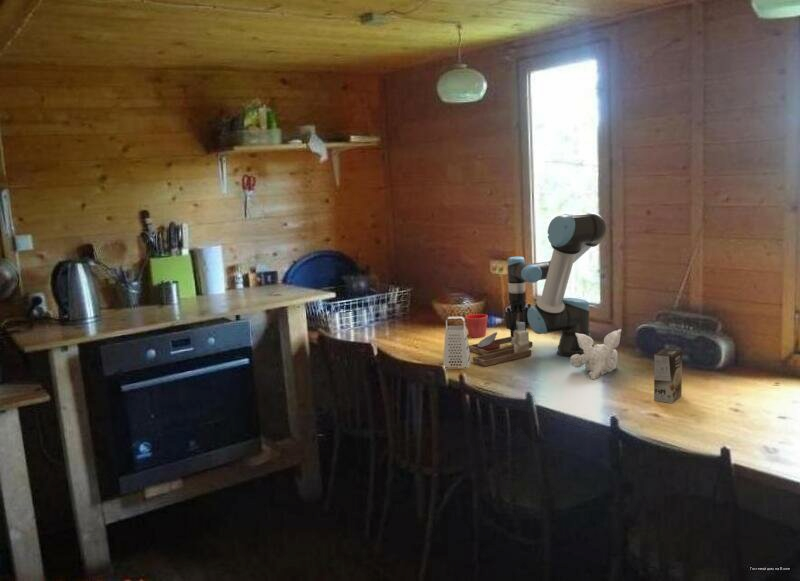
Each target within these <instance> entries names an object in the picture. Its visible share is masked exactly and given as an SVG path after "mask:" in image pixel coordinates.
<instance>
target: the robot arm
mask: <svg viewBox="0 0 800 581" xmlns="http://www.w3.org/2000/svg"><path fill="white" fill-rule="evenodd" d="M547 228H548V229H547V234H548V235H547V238H548V239H547V240H548V241H549V243H550V245H551V248H552V249H553V251H552V254H551V258H550V260H549V261H543V262H534V263H533V262H532V263H526V260H525V257H523V256H511V257H508V258H507V266H506V268H507V281H508V282H507V286H508V288H507V289H508V301H509V305H508V306H507V307H504V308H503V310H504V312H505V326H506V329H508V330H509V331H510V337H512V341H511V345H514V331H516V330H515V327H516V321H517V317H518V318H519V321H521V322H525V331H527V329H528V328H529V327H530V329H531V330H532V331H533V333H535V334H537V335H542V334H543V335H545V334H549V333H555V332H561V336H560V339H559V343H558V345H557V354H558V355H561V356H565V357H570V358H571V356H572V355H575V354H580V355H582V354H585V353H584V352H583V351H584V350H583V349H582V348H580V347H579V343H578V340H577V337H576V335H575V333H579V334H585V335H587V336H589V337H591V334H590V332H591V331H590V311H591V310H590V304H589V301H588V300H585V299H583V298H575V297H565V293H566V290H567V286H568V283H569V279H570V276H571V273H572V268H573V266H574V265H573V264H574V263H575V262H577V261H578V260H579V259H580V258H581V257H582V256H583V255H584V254H585V253H586V252H588V251H589V250H590V249H591V248H594V247H597V246H598V245H599V244H600V243H602V242H603V240H604V239H605V237H606V236H607V232H608V225H607V222H606V221H605V219H604V218H603V217H602V216H601V215H600V214H598V213H596V212H582V213H572V214H571V213H569V214H567V213H565V214H561V215H557V216H555V217H553V218H552V219H551V220H550V222H549V224H548V227H547ZM542 280H543V281H544V280H545V282H544V285H543V290H542V293H541V296H539V297H538V298H537V299H536V302H535V306H533V305H532V304H531V303H526V299H527V294H526V282H527V283H537V282H539V281H542ZM592 346H593V348H594V346H595V345H594V344H593V345H592Z"/></svg>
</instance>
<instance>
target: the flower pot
mask: <svg viewBox="0 0 800 581" xmlns="http://www.w3.org/2000/svg"><path fill="white" fill-rule="evenodd" d="M488 317H489V316H488V314H484V313H475V314H472V313H471V314H468V315H465V317H464V319H465V323H466V324H465V326H466V330H467V334H468V336H469V338H472V337H473V338H475V339H478V337H479V338H484V337H486V334H487V327H488V326H487V325H488V319H489V318H488Z"/></svg>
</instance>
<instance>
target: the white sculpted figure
mask: <svg viewBox="0 0 800 581" xmlns="http://www.w3.org/2000/svg"><path fill="white" fill-rule="evenodd" d="M621 333H622V328H619V329H617V330H613V331H611V332H610V333H608V334H606V336H604V339H603V343H602V344H598V343H597V344H595V345H594V342H595V341H594V339H593V338H592V337H591V336H590V337H589V336H587V335H585V334H579V333H575V335H576V337H577V340H578V343H579V347H580V348H582V349H583V350H584V351H583V352H584V353H585V354H582V355H580V354H575V355H572V356H571V357H570V358H569V359H570V365H571V366H572V367H574V368H582V367H583V365H584V368H585V369H586V370H587V371H588V372H589V371H591V372H589V373H588V375H589V376H590V379H591V380H596V379H598V378H600V375H602V376H604V374H608V373H612V371H614V370H616V369H617V368H616V367H617V364H618V358H619V355H618V354H619V352H618V350H616V348H618V346H619V345H620V340H621ZM592 345H593V346H594V348H593V346H592ZM607 372H608V373H607Z"/></svg>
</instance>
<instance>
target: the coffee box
mask: <svg viewBox="0 0 800 581" xmlns="http://www.w3.org/2000/svg"><path fill="white" fill-rule="evenodd" d="M653 355H654V356H653V357H654V358H653V359H654V360H653V363H654V364H653V365H654V366H653V368H654V369H653V370H654V371H653V372H654V374H653V378H654V379H653V400H654V401H656V402H662V403H667V404H674V402H676V401H677V400H678V399H680V398H681V397H682V395H683V394H682V391H683V389H682V388H683V387H682V384H683V350H679V349H674V348H672V349H671V348H670V349H669V348H663V349H661V350H660V351H658V352H656V353H654V354H653Z"/></svg>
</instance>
